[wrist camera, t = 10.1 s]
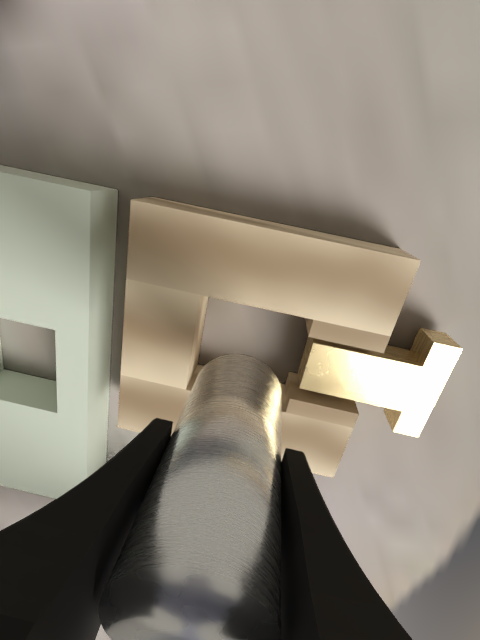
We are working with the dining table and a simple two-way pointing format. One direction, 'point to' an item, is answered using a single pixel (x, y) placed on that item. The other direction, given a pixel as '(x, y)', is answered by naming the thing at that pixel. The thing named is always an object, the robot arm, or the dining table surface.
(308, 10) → the dining table surface
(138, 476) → the robot arm
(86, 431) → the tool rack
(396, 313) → the socket block
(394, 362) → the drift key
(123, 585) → the steel peg
